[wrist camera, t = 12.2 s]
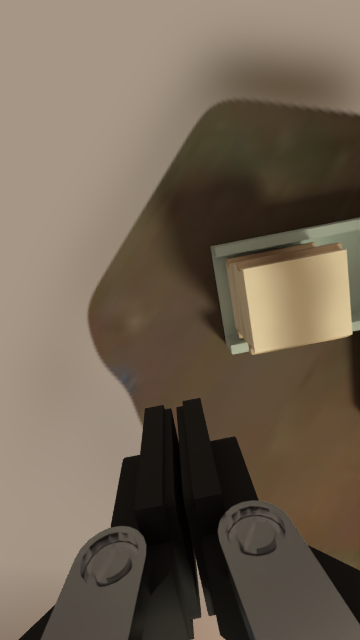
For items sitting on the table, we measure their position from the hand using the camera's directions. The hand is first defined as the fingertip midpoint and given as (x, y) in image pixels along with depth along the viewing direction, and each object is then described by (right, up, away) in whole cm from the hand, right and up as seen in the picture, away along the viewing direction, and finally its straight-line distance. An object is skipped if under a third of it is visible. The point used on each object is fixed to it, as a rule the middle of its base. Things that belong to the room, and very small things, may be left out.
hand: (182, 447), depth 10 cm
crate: (+8, +7, +21) cm, 23 cm away
